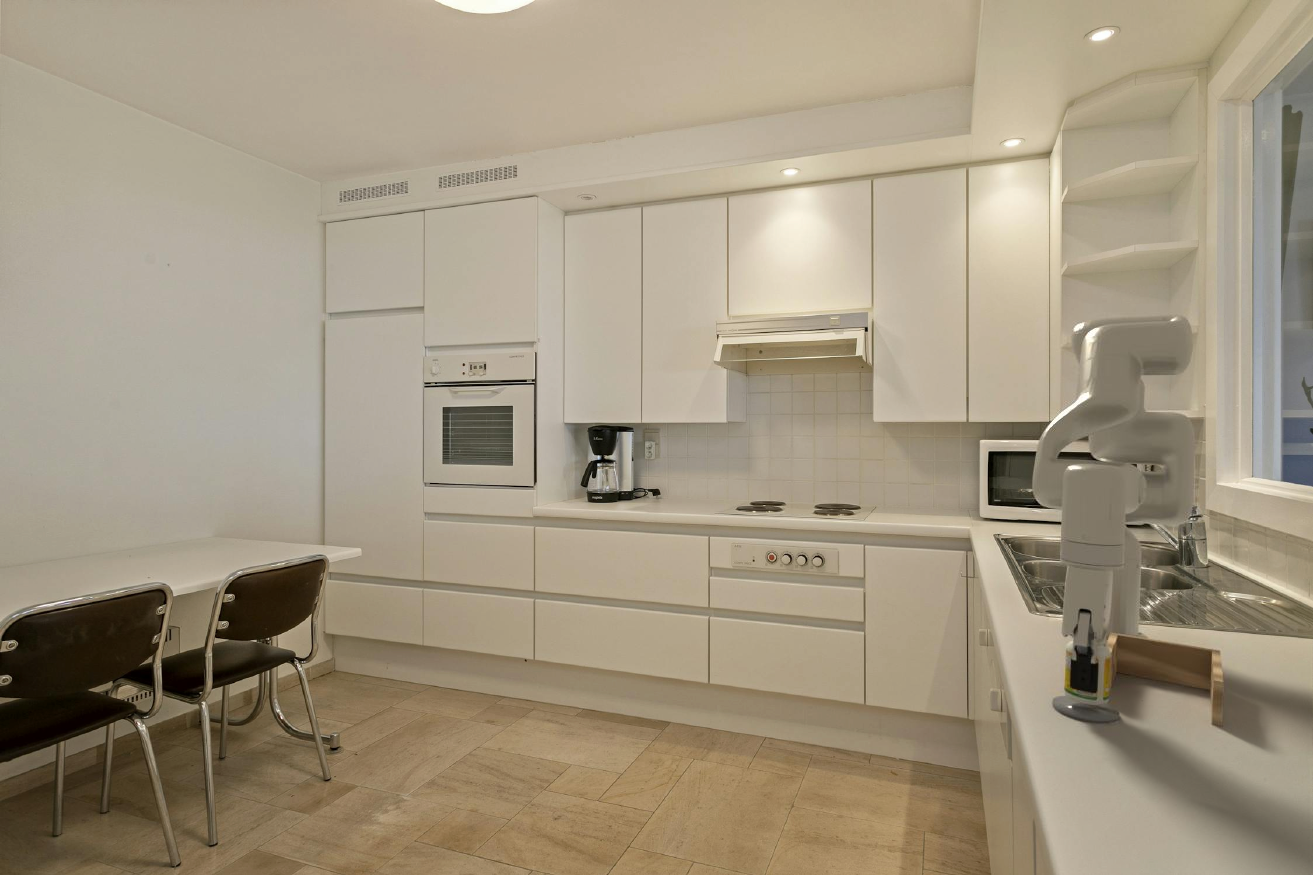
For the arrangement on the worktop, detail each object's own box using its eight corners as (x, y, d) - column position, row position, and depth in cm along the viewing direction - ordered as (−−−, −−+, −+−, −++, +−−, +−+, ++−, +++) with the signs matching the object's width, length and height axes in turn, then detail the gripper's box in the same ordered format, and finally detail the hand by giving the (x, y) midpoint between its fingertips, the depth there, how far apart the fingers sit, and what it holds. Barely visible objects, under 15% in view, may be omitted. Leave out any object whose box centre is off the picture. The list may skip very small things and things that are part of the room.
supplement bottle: (1081, 706, 97) (1083, 636, 96) (1055, 691, 102) (1057, 624, 102) (1118, 705, 97) (1121, 635, 97) (1090, 690, 103) (1093, 623, 102)
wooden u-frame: (1109, 668, 117) (1111, 632, 117) (1218, 689, 109) (1220, 650, 109) (1098, 699, 104) (1099, 658, 104) (1221, 726, 95) (1223, 681, 95)
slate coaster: (1056, 695, 105) (1057, 691, 105) (1121, 709, 100) (1122, 705, 100) (1047, 712, 99) (1048, 707, 99) (1116, 728, 94) (1116, 723, 94)
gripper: (1069, 542, 108) (1064, 661, 109) (1050, 559, 95) (1045, 695, 95) (1128, 549, 104) (1123, 673, 104) (1118, 567, 90) (1112, 710, 91)
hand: (1086, 682), depth 100 cm, fingers open, 5 cm apart
